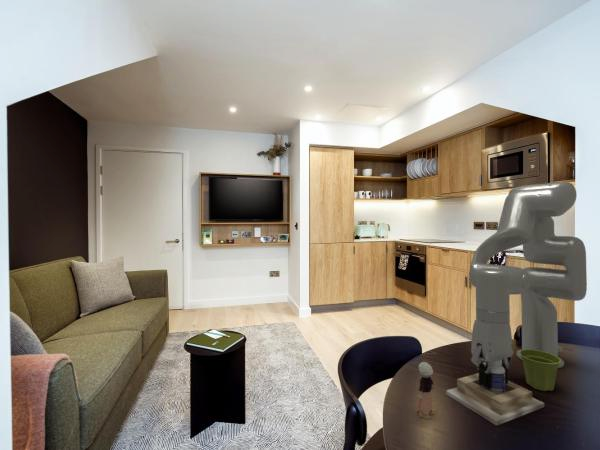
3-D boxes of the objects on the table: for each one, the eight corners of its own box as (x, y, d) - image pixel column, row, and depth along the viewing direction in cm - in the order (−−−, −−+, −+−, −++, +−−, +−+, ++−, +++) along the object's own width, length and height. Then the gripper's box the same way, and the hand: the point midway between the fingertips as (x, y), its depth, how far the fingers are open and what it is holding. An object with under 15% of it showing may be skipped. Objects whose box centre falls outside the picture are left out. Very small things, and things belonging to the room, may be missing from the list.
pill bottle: (509, 397, 76) (508, 362, 76) (486, 395, 77) (486, 361, 77) (499, 386, 81) (499, 353, 81) (478, 384, 82) (478, 352, 82)
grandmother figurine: (420, 404, 77) (420, 355, 77) (436, 409, 75) (436, 359, 75) (413, 420, 71) (412, 367, 71) (430, 426, 69) (429, 371, 69)
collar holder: (490, 380, 88) (490, 367, 88) (544, 406, 76) (544, 391, 76) (446, 394, 82) (445, 379, 82) (496, 425, 69) (496, 408, 69)
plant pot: (561, 399, 79) (560, 366, 79) (517, 386, 85) (517, 356, 85) (562, 385, 86) (561, 355, 86) (521, 374, 92) (521, 346, 92)
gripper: (499, 308, 85) (500, 371, 85) (456, 315, 79) (457, 383, 79) (528, 315, 78) (529, 384, 78) (483, 324, 72) (484, 399, 72)
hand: (493, 383), depth 79 cm, fingers closed on pill bottle, 5 cm apart
